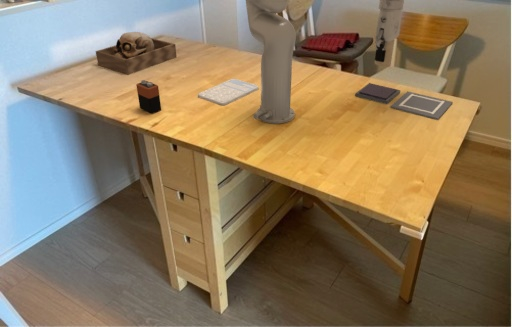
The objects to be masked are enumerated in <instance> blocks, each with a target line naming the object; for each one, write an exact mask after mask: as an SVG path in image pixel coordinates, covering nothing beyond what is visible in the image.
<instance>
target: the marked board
mask: <svg viewBox="0 0 512 327" xmlns="http://www.w3.org/2000/svg"><path fill="white" fill-rule="evenodd" d="M452 105H453V101H450V100H447V99H441V98H437V97H433V96H430V95H425V94H420V93H416V92H412V91H406V92H405V93H404V94H402V95H401V96H400V97H399V98H398V99H397V100H396V101H395V102H394V103H392V104H391V105H390V106H389V108H390V109H393V110H398V111H401V112H405V113H409V114H412V115H416V116H417V115H418V116H420V117H424V118H429V119H433V120H436V121H438V120H440V118H441V117H442V116H443V115H444V114H445V113H446V112H447V110H448V109H449V108H450V107H451V106H452Z"/></svg>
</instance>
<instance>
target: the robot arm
mask: <svg viewBox="0 0 512 327" xmlns="http://www.w3.org/2000/svg"><path fill="white" fill-rule="evenodd" d="M289 1H290V0H245V7H246V13H247V14H246V15H247V22H248V29H249V31H250V34H251V36H252V38H253V39H255V41H257V42H259V43H261V44H262V45H263V51H262V55H261V58H260V59H261V61H260V91H261V92H260V105H259V108H258V109H257V110H256V112H255V113H253V114H252V115H253V116H252V117H253V119H254V120H260V121H261V122H264V123H266V124H274V125H275V124H277V125H278V124H279V125H280V124H286V123H288V122H291V121H292V120H294V118H295V117H296V112H295V110H294V109H293V108H291V97H292V96H291V95H292V94H291V93H292V73H293V72H292V68H293V55H294V49H295V44H296V41H297V40H296V39H297V32H296V29H295V27H294V25H293V24H292V22H290V20H288V19H287V18H285V17H283V16H281V15H279V13H282V12H284V11H285V10H286V8H287V7H288V5H289ZM404 1H405V0H379V3H378V9H379V15H378V18H377V24H376V29H375V44H376V45H375V55H374V56H375V57H374V62H375V61H379V62H384V60H385V53H386V50H385V47H386V44H387V42H391V41H392V40H394V41H395V39H397V38H399V36H400V33H401V32H400V31H401V25H402V24H401V23H402V14H403V13H402V11H403V10H404V3H405V2H404ZM382 39H385V41H383V40H382ZM381 42H383V43H384V44H381Z"/></svg>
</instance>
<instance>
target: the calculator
mask: <svg viewBox="0 0 512 327" xmlns="http://www.w3.org/2000/svg"><path fill="white" fill-rule="evenodd" d="M259 89H260V88H259V86H258V85H256V84H253V83H251V82H248V81H244V80H241V79H237V78H231V79H229V80H226V81H224V82H221V83H219V84H217V85H215V86H212V87H210V88H207V89H206V90H203V91H201V92H199V93H197V97H198V98H200V99H202V100H205V101H208V102H210V103H213V104H216V105H219V106H221V107H222V106H228V105H229V104H231V103H234V102H236V101H238V100H239V99H242V98H243V97H244V98H245V97H246V96H248V95H250V94H253V93H254V92H256V91H258V90H259Z"/></svg>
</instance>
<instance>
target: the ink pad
mask: <svg viewBox="0 0 512 327" xmlns="http://www.w3.org/2000/svg"><path fill="white" fill-rule="evenodd" d="M400 94H401V89H398V88H397V89H396V88H394V87H393V88H392V87H389V86H384V85H379V84H375V83H371V82H369V83H367V84H366V85H364V86H363V87H362V88H360V89H359V90H357V91H356V92H355V94H354V96H355V98H361V99H363V100H368V101H373V102H377V103H380V104H385V105H388V104H390V103H391V101H393V100H394V99H395V98H396V97H397V96H398V95H400Z"/></svg>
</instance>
